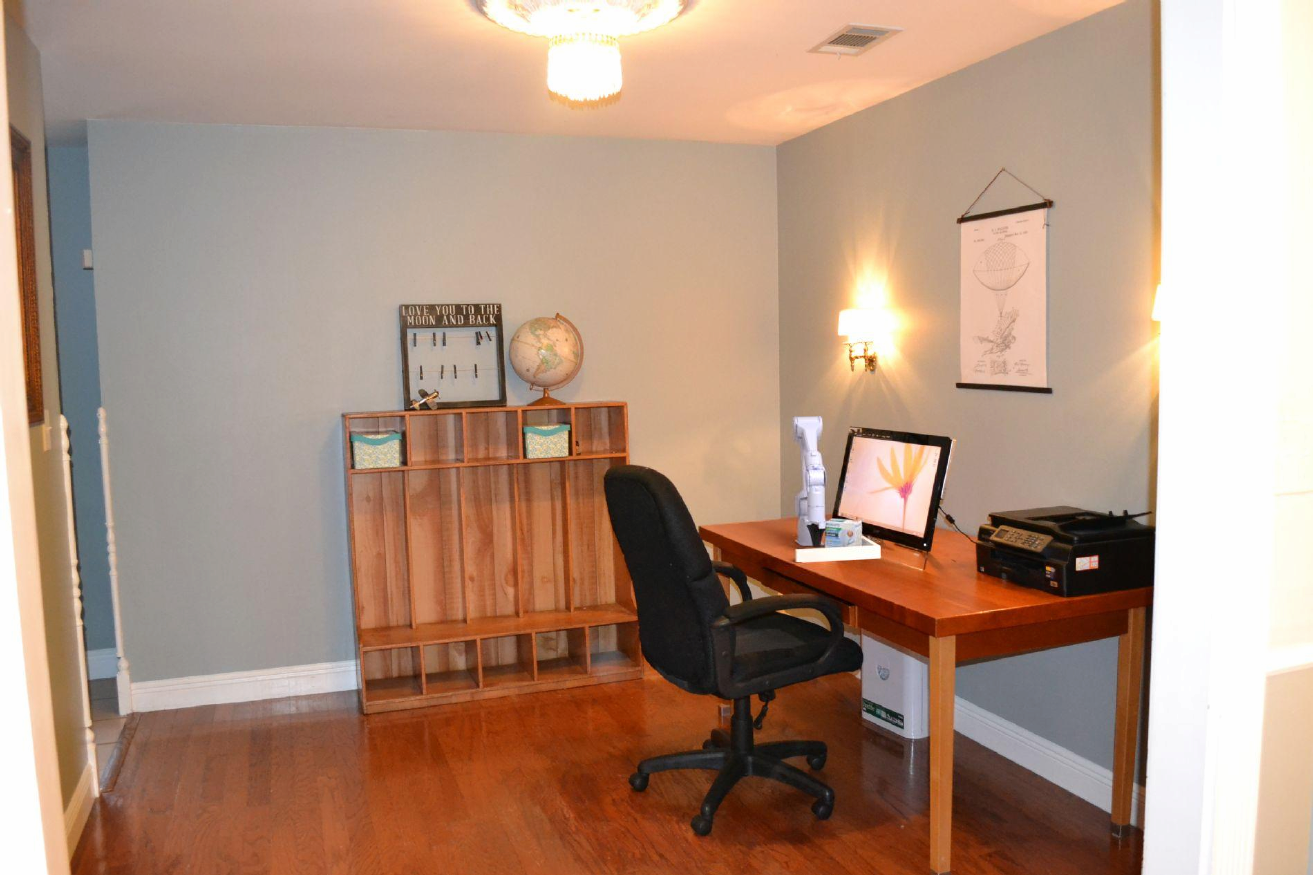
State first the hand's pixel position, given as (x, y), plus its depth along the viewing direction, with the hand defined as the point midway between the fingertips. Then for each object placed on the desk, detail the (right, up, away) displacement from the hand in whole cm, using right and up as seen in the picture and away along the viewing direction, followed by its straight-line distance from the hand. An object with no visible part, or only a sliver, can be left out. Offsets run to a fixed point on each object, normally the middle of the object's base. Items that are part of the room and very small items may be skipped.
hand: (816, 546), depth 332 cm
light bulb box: (+9, -2, 0) cm, 9 cm away
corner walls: (+4, -2, -1) cm, 5 cm away
